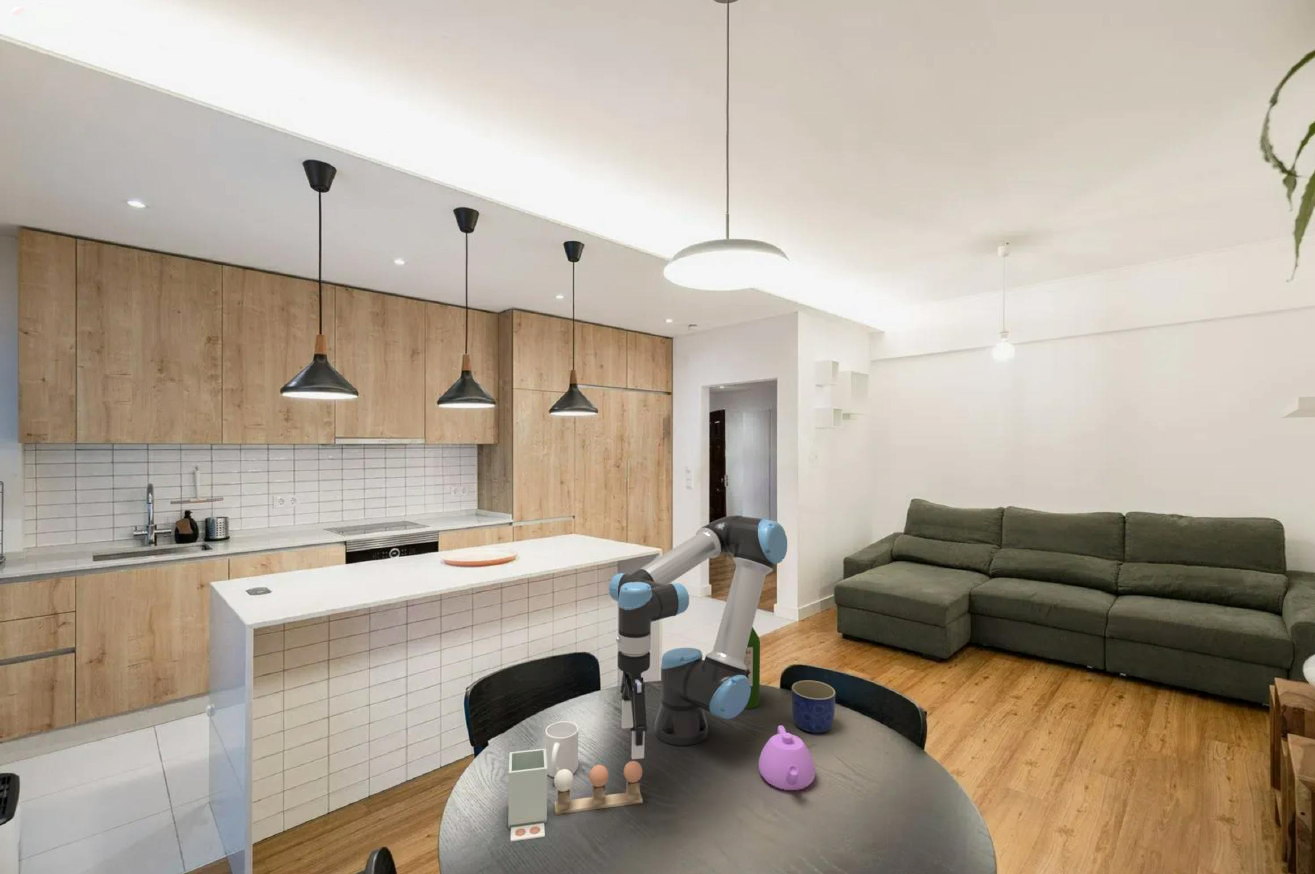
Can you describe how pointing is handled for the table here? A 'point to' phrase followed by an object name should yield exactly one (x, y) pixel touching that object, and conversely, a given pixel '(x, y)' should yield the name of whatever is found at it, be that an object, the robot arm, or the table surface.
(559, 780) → the ball
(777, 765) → the teapot
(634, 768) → the ball
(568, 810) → the rack
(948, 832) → the table surface
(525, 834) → the card
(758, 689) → the wine bottle
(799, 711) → the planter
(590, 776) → the ball
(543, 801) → the grey-green tall hollow box
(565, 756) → the mug
